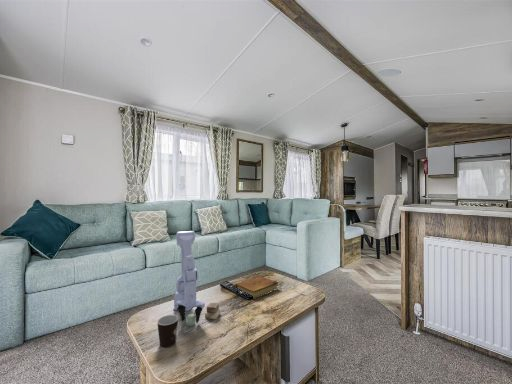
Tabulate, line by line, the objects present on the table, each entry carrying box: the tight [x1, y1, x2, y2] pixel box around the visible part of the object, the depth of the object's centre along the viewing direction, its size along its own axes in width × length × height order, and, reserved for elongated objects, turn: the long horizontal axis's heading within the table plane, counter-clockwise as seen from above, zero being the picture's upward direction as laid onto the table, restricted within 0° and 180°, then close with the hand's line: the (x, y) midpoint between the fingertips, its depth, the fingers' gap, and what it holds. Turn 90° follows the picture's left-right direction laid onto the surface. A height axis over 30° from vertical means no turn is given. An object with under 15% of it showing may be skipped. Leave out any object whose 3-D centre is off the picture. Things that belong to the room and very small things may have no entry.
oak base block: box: [204, 308, 221, 320], centre depth 127 cm, size 6×6×3 cm
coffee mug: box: [156, 314, 179, 348], centre depth 105 cm, size 12×9×10 cm
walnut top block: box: [206, 302, 220, 313], centre depth 127 cm, size 5×5×3 cm
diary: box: [234, 275, 279, 300], centre depth 161 cm, size 23×19×6 cm
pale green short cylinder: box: [185, 313, 196, 327], centre depth 119 cm, size 4×4×4 cm
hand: (190, 321), depth 119 cm, fingers open, 7 cm apart
